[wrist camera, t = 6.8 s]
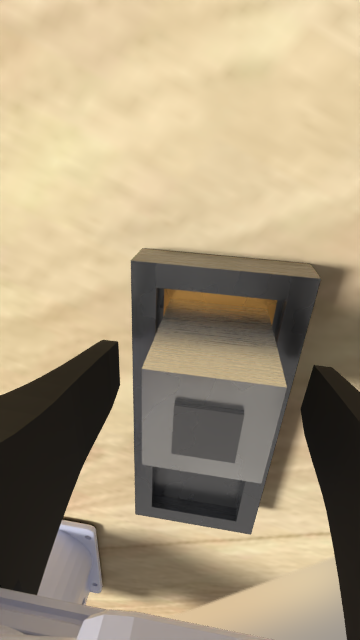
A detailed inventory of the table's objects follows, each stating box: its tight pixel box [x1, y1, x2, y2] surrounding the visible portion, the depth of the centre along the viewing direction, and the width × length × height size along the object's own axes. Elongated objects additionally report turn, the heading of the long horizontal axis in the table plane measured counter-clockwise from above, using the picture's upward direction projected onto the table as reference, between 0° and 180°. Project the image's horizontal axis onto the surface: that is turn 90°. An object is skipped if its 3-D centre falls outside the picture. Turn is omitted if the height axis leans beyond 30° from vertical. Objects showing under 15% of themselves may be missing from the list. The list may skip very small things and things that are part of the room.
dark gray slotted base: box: [131, 248, 321, 534], centre depth 16 cm, size 16×7×2 cm, turn 177°
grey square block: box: [142, 299, 287, 483], centre depth 12 cm, size 4×4×5 cm
